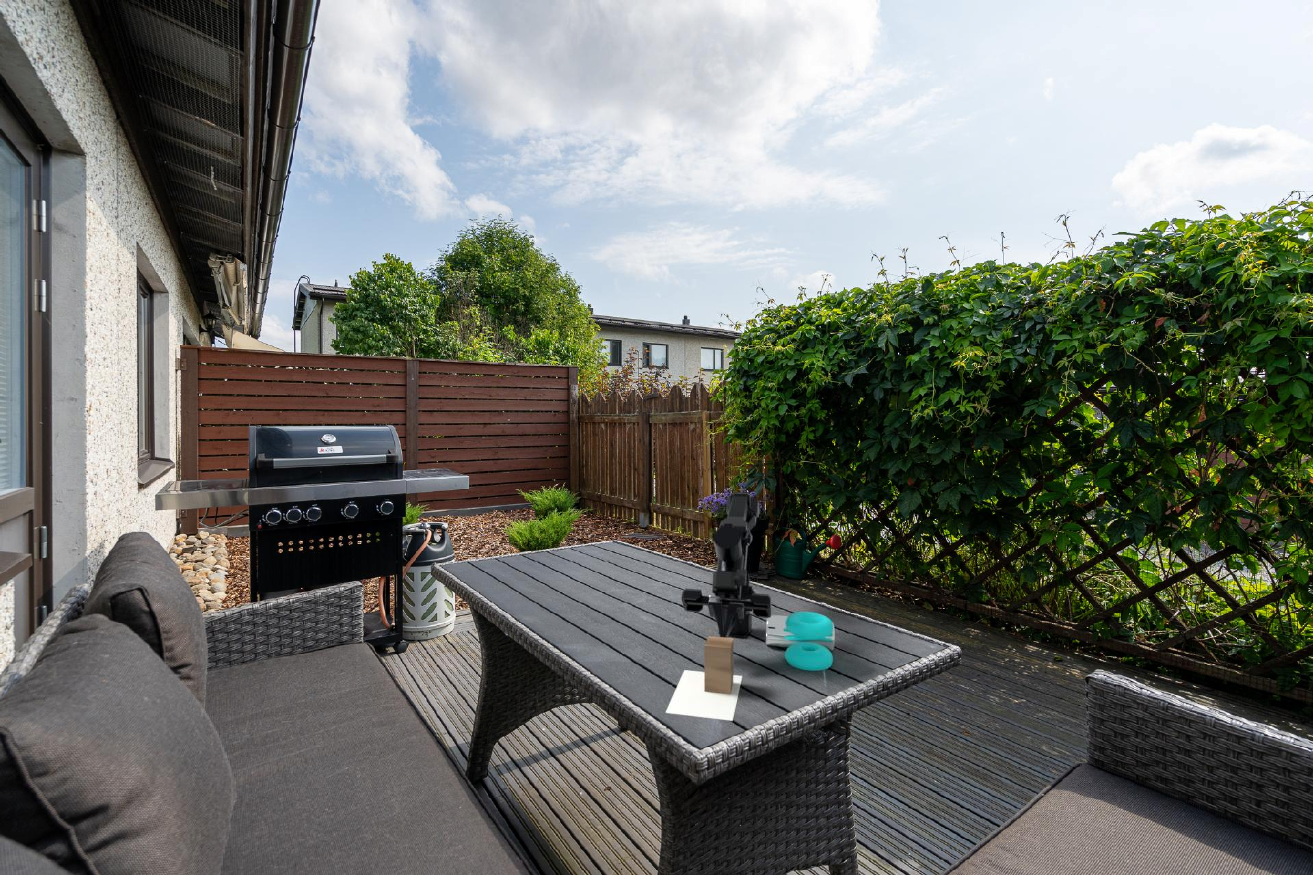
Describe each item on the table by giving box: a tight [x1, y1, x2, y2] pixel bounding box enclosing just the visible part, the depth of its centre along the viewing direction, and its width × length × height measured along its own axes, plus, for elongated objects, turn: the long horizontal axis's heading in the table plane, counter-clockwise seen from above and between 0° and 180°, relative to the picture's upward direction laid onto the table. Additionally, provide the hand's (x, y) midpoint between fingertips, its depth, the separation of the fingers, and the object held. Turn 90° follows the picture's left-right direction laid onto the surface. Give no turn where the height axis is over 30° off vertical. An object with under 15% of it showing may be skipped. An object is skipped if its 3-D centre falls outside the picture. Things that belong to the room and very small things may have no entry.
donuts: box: [784, 611, 834, 672], centre depth 130 cm, size 10×10×10 cm
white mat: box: [665, 669, 743, 722], centre depth 116 cm, size 18×12×1 cm, turn 166°
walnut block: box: [703, 635, 734, 694], centre depth 118 cm, size 5×5×9 cm
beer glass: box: [765, 614, 836, 651], centre depth 139 cm, size 7×7×15 cm
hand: (722, 640), depth 124 cm, fingers closed
